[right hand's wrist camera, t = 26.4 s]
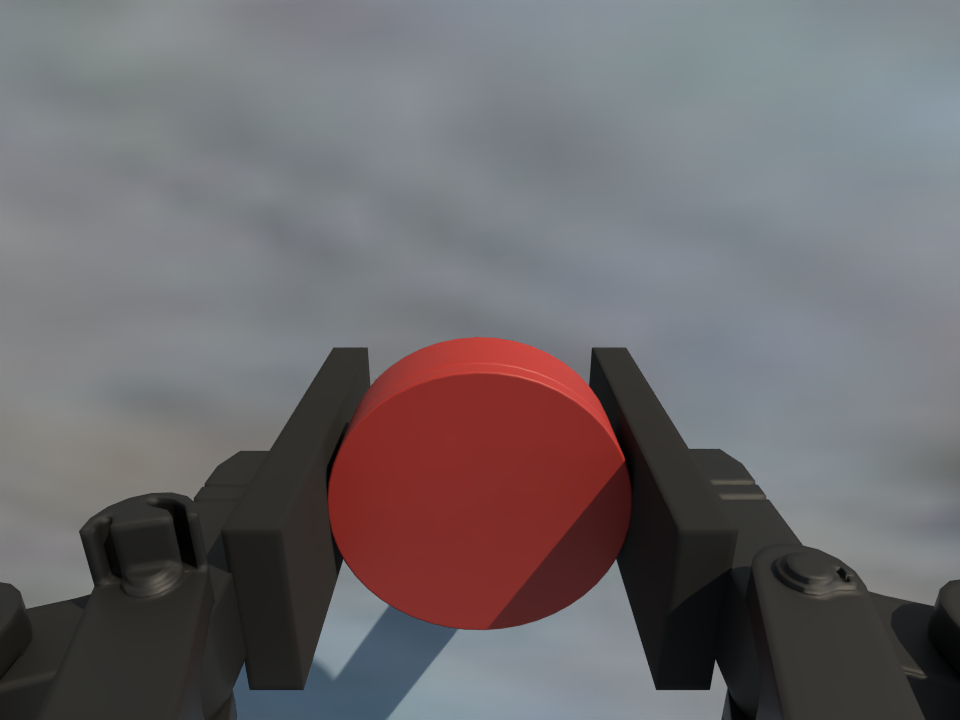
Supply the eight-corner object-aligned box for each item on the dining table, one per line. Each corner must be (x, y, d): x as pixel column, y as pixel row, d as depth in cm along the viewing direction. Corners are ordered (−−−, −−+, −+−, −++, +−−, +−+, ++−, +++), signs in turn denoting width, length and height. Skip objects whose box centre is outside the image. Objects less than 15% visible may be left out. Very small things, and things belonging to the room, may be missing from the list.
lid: (579, 301, 11) (595, 333, 9) (637, 536, 12) (659, 594, 11) (304, 379, 11) (276, 421, 10) (397, 593, 13) (386, 656, 11)
